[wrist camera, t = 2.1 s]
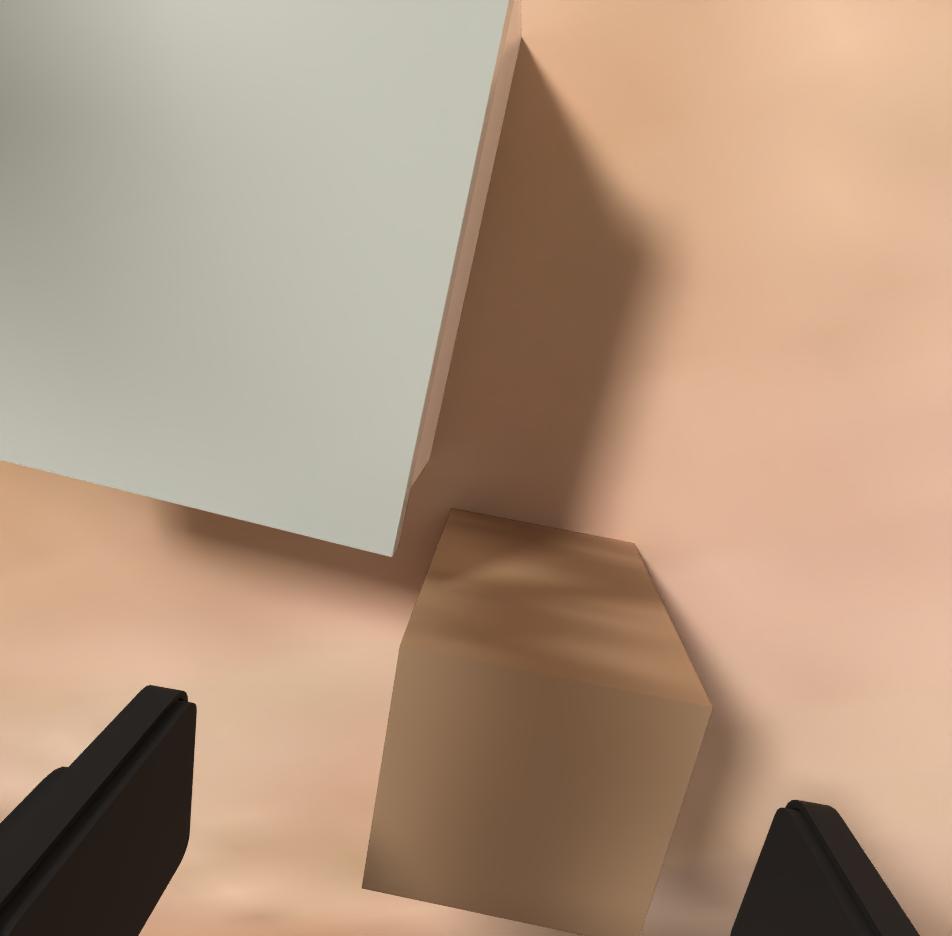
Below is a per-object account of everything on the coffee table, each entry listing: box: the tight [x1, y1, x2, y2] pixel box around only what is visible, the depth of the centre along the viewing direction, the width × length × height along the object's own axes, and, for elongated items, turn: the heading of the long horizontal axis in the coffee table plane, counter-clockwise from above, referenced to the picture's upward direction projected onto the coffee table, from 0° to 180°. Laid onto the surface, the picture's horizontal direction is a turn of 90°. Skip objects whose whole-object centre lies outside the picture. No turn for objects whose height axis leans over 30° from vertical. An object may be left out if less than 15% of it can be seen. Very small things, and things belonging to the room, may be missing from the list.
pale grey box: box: [0, 0, 522, 557], centre depth 12 cm, size 11×11×6 cm
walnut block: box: [362, 508, 713, 936], centre depth 14 cm, size 5×5×7 cm
